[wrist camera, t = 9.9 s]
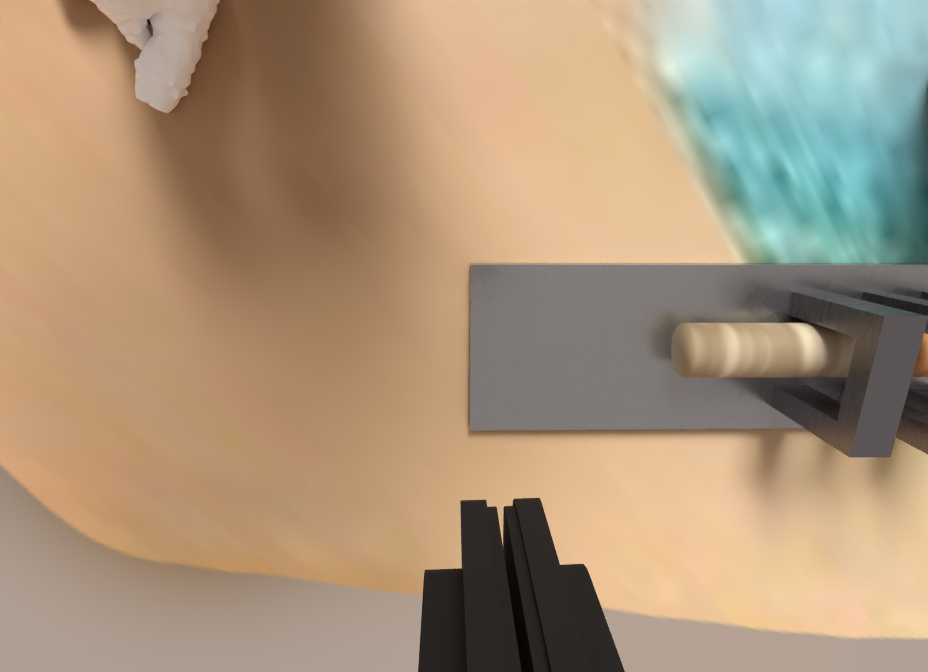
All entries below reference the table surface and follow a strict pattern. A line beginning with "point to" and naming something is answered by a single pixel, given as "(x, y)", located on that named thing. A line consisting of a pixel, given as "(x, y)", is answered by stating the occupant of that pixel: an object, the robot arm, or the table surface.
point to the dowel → (767, 351)
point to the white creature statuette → (162, 43)
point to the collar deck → (649, 349)
